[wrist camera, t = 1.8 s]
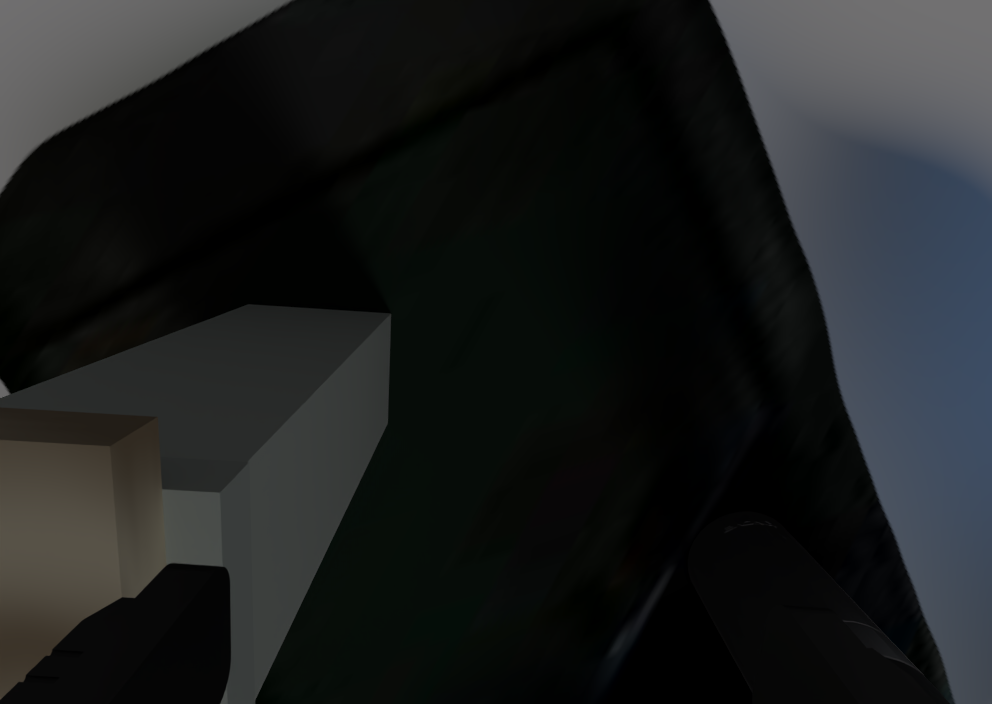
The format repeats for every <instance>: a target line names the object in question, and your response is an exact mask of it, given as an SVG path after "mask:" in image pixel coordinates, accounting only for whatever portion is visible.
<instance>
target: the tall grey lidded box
mask: <svg viewBox="0 0 992 704" xmlns="http://www.w3.org/2000/svg"><path fill="white" fill-rule="evenodd" d="M390 330H391V313H375V312H360V311H344V310H329V309H314V308H298V307H283V306H268V305H252V304H248V305H245V306H243V307H240V308H237V309H235V310H232V311H229V312H227V313H224V314H221V315H219V316H216V317H214V318H211V319H208V320H206V321H203V322H200V323H198V324H195V325H192V326H190V327H187V328H185V329H182V330H179V331H177V332H174V333H171V334H169V335H166V336H163V337H161V338H158V339H156V340H153V341H150V342H148V343H145V344H142V345H140V346H137V347H134V348H132V349H129V350H127V351H124V352H121V353H119V354H116V355H113V356H111V357H108V358H105V359H103V360H100V361H98V362H95V363H92V364H90V365H87V366H84V367H82V368H79V369H77V370H74V371H71V372H69V373H66V374H63V375H61V376H58V377H55V378H53V379H50V380H48V381H45V382H42V383H40V384H37V385H34V386H32V387H29V388H26V389H24V390H21V391H19V392H16V393H13V394H11V395H8V396H5V397H3V398H0V407H2V408H18V409H35V410H52V411H69V412H85V413H102V414H119V415H135V416H152V417H158V428H159V445H160V462H161V479H162V496H163V513H164V530H165V547H166V564H167V565H168V564H170V563H181V564H195V565H209V566H222V567H225V568H226V569H227V570H228V572H229V576H230V609H231V666H230V673H229V678H228V682H227V686H226V690H225V693H224V696H223V698H222V701H221V703H220V704H255V699H256V697H257V695H258V693H259V691H260V689H261V687H262V684H263V682H264V680H265V678H266V676H267V674H268V672H269V670H270V668H271V666H272V664H273V661H274V659H275V657H276V655H277V653H278V651H279V649H280V647H281V645H282V643H283V641H284V639H285V636H286V634H287V632H288V630H289V628H290V626H291V624H292V622H293V620H294V618H295V616H296V613H297V611H298V609H299V607H300V605H301V603H302V601H303V599H304V597H305V595H306V593H307V590H308V588H309V586H310V584H311V582H312V580H313V578H314V576H315V574H316V572H317V570H318V567H319V565H320V563H321V561H322V559H323V557H324V555H325V553H326V551H327V549H328V547H329V545H330V542H331V540H332V538H333V536H334V534H335V532H336V530H337V528H338V526H339V524H340V522H341V519H342V517H343V515H344V513H345V511H346V509H347V507H348V505H349V503H350V501H351V499H352V496H353V494H354V492H355V490H356V488H357V486H358V484H359V482H360V480H361V478H362V476H363V474H364V471H365V469H366V467H367V465H368V463H369V461H370V459H371V457H372V455H373V453H374V451H375V448H376V446H377V444H378V442H379V440H380V438H381V436H382V434H383V432H384V430H385V428H386V425H387V423H388V397H389V363H390Z"/></svg>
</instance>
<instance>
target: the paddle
mask: <svg viewBox="0 0 992 704" xmlns="http://www.w3.org/2000/svg"><path fill="white" fill-rule="evenodd" d="M165 566H167V564H166V547H165V530H164V513H163V496H162V479H161V462H160V445H159V428H158V417H152V416H135V415H119V414H102V413H85V412H69V411H52V410H35V409H18V408H2V407H0V700H1V699H2V698H3V697H4V696H5V695H6V694H7V693H8V692H9V691H10V690H11V689H12V688H13V687H14V686H15V685H16V684H17V683H18V682H23V681H24V680H25V677H26V674H27V673H28V672H29V671H30V670H31V669H32V668H33V667H35V666H36V665H37V664H38V663H39V662H40V661H41V660H42V659H43V658H44V657H45V656H50V655H51V653H52V649H53V648H54V647H55V646H56V645H57V644H58V643H59V642H60V641H61V640H62V639H63V638H64V637H65V636H66V635H68V634H69V633H70V632H71V631H72V630H73V629H74V628H75V627H76V626H77V625H78V624H79V623H80V622H81V621H82V620H83V619H85V618H87V617H89V616H90V615H92V614H94V613H96V612H97V611H99V610H101V609H103V608H104V607H106V606H108V605H109V604H111V603H113V602H115V601H116V600H118V599H120V598H122V597H127V598H135V597H136V596H137V595H138V594H139V593H140V592H141V591H142V590H143V589H144V588H145V587H146V586H147V585H148V584H149V583H150V582H151V581H152V580H153V579H154V578H155V576H156V575H157V574H158V573H159V572H160V571H161V570H162V569H163V568H164V567H165Z"/></svg>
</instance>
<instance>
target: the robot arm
mask: <svg viewBox="0 0 992 704" xmlns="http://www.w3.org/2000/svg"><path fill="white" fill-rule="evenodd" d="M688 572H689V576H690V579H691V582H692V583H693V585H694V587H695V589H696V591H697V593H698V594H699V596H700V598H701V600H702V602H703V604H704V605H705V607H706V609H707V611H708V613H709V615H710V617H711V618H712V620H713V622H714V624H715V626H716V628H717V629H718V631H719V633H720V635H721V637H722V638H723V640H724V642H725V644H726V646H727V647H728V649H729V651H730V653H731V655H732V657H733V658H734V660H735V662H736V664H737V666H738V667H739V669H740V671H741V673H742V675H743V676H744V678H745V680H746V682H747V684H748V686H749V687H750V689H751V691H752V693H753V695H752V704H949V702H948V701H947V700H946V699H945V698H944V696H943V695H942V694H941V693H940V692H939V691H938V690H937V689H936V688H935V687H934V686H933V685H932V684H931V683H930V682H929V681H928V679H927V678H926V677H925V676H924V675H923V674H922V673H921V672H920V671H919V670H918V669H917V668H916V667H915V666H914V664H913V663H912V662H911V661H910V660H909V659H908V658H907V657H906V656H905V655H904V654H903V653H902V652H901V651H900V650H899V649H898V648H897V646H896V645H895V644H894V643H893V642H892V641H891V640H890V639H889V638H888V637H887V636H886V635H885V634H884V633H883V632H882V631H881V630H880V629H879V628H878V627H877V626H876V624H875V623H874V622H873V621H872V620H871V619H870V618H869V617H868V616H867V615H866V614H865V613H864V612H863V611H862V610H861V609H860V607H859V606H858V605H857V604H856V603H855V602H854V601H853V600H852V599H851V598H850V597H849V596H848V595H847V594H846V593H845V592H844V591H843V589H842V588H841V587H840V586H839V585H838V584H837V583H836V582H835V581H834V580H833V579H832V578H831V577H830V576H829V575H828V574H827V572H826V571H825V570H824V569H823V568H822V567H821V566H820V565H819V564H818V563H817V562H816V561H815V560H814V559H813V558H812V557H811V555H810V554H809V553H808V552H807V551H806V550H805V549H804V548H803V547H802V546H801V545H800V544H799V543H798V542H797V541H796V540H795V538H794V537H793V536H792V535H791V534H790V533H789V532H788V531H787V530H786V529H785V528H784V527H783V526H782V525H781V524H780V523H779V522H777V521H776V520H775V519H773V518H772V517H769V516H767V515H765V514H762V513H757V512H752V511H743V512H735V513H730V514H727V515H724V516H722V517H719V518H717V519H716V520H714V521H713V522H711V523H710V524H708V525H707V526H706V527H705V528H704V529H703V530H702V531H701V532H700V533H699V534H698V536H697V537H696V538H695V540H694V541H693V544H692V546H691V548H690V551H689V556H688ZM230 666H231V609H230V576H229V572H228V570H227V569H226V568H225V567H222V566H209V565H195V564H181V563H170V564H168V565H167V566H165V567H164V568H163V569H162V570H161V571H160V572H159V573H158V574H157V575H156V576H155V578H154V579H153V580H152V581H151V582H150V583H149V584H148V585H147V586H146V587H145V588H144V589H143V590H142V591H141V592H140V593H139V594H138V595H137V596H136V597H135V598H127V597H122V598H120V599H118V600H116V601H115V602H113V603H111V604H109V605H108V606H106V607H104V608H103V609H101V610H99V611H97V612H96V613H94V614H92V615H90V616H89V617H87V618H85V619H83V620H82V621H81V622H80V623H79V624H78V625H77V626H76V627H75V628H74V629H73V630H72V631H71V632H70V633H69V634H68V635H66V636H65V637H64V638H63V639H62V640H61V641H60V642H59V643H58V644H57V645H56V646H55V647H54V648H53V649H52V653H51V655H50V656H45V657H44V658H43V659H42V660H41V661H40V662H39V663H38V664H37V665H36V666H35V667H33V668H32V669H31V670H30V671H29V672H28V673H27V674H26V677H25V680H24V681H23V682H18V683H17V684H16V685H15V686H14V687H13V688H12V689H11V690H10V691H9V692H8V693H7V694H6V695H5V696H4V697H3V698H2V699H1V700H0V704H220V703H221V701H222V698H223V696H224V693H225V690H226V686H227V682H228V678H229V673H230Z"/></svg>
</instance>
